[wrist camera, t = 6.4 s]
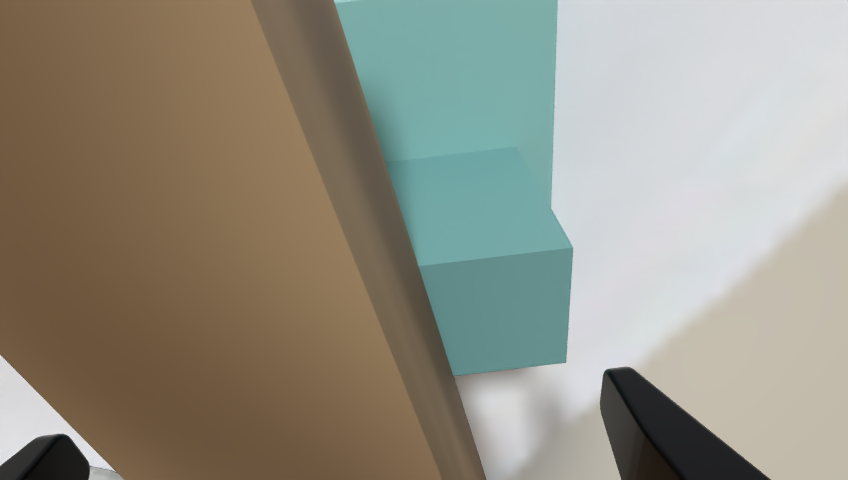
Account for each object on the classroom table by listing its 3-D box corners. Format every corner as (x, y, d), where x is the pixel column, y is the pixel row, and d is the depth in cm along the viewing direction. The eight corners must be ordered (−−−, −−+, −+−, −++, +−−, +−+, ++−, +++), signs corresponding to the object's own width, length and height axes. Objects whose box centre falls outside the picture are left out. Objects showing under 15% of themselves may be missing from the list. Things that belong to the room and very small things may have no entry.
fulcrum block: (546, -29, 12) (657, 5, 7) (539, 315, 18) (597, 467, 13) (99, 28, 12) (-103, 100, 7) (236, 351, 18) (177, 516, 13)
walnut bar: (232, -316, 5) (-51, -753, 2) (506, 542, 15) (540, 725, 11) (-64, -213, 6) (-775, -427, 2) (391, 563, 15) (391, 749, 12)
